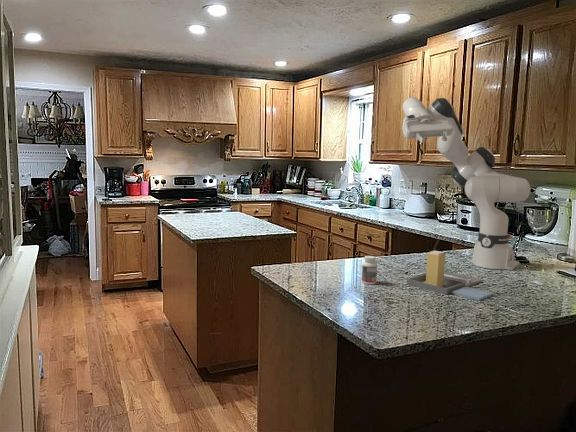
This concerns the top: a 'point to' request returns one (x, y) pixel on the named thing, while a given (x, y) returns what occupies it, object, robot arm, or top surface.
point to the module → (435, 268)
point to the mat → (472, 293)
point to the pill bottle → (369, 270)
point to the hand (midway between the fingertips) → (434, 140)
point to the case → (449, 278)
